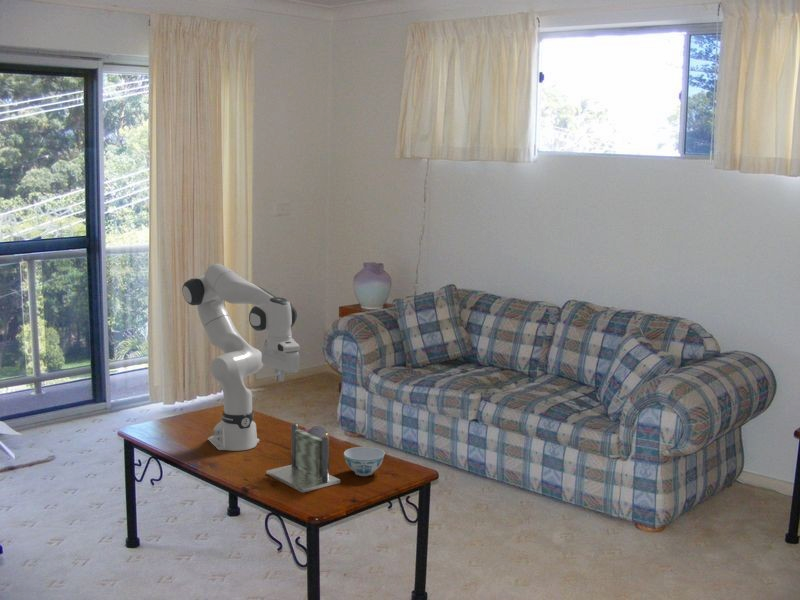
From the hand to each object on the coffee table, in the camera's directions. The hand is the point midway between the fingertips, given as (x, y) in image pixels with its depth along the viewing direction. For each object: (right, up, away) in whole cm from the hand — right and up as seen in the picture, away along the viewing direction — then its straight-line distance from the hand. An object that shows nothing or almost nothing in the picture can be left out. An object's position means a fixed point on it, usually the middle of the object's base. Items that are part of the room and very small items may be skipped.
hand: (279, 380), depth 313 cm
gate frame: (+8, -36, +1) cm, 36 cm away
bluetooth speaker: (+11, -32, +24) cm, 42 cm away
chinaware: (+30, -35, +7) cm, 47 cm away
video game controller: (+7, -30, +43) cm, 52 cm away
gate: (+10, -33, +2) cm, 35 cm away
